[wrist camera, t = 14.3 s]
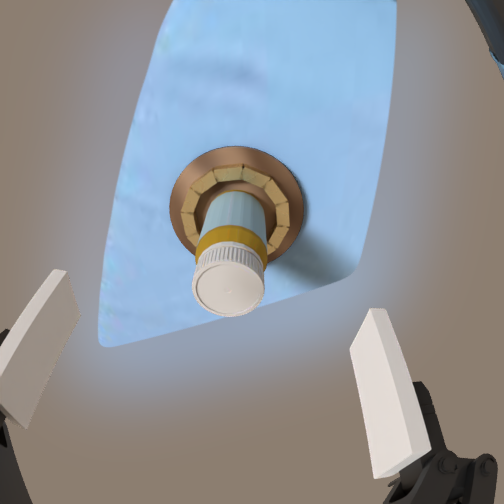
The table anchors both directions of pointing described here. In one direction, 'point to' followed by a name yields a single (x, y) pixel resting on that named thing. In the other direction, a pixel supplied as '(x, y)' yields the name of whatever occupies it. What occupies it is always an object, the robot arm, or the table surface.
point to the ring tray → (238, 178)
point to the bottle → (231, 255)
